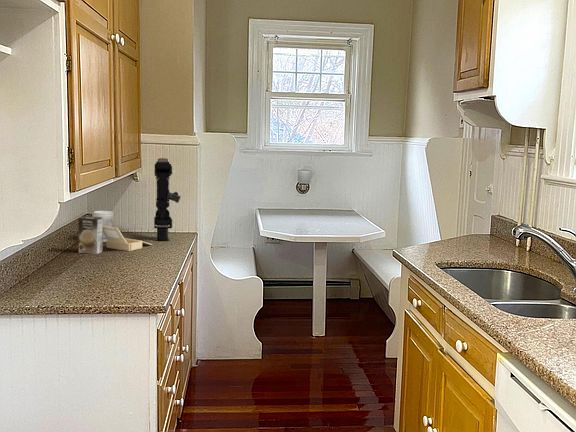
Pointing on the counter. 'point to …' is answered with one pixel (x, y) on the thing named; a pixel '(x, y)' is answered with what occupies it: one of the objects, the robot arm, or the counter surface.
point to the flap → (113, 234)
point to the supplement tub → (105, 220)
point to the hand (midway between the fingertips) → (162, 219)
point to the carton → (126, 245)
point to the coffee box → (90, 235)
